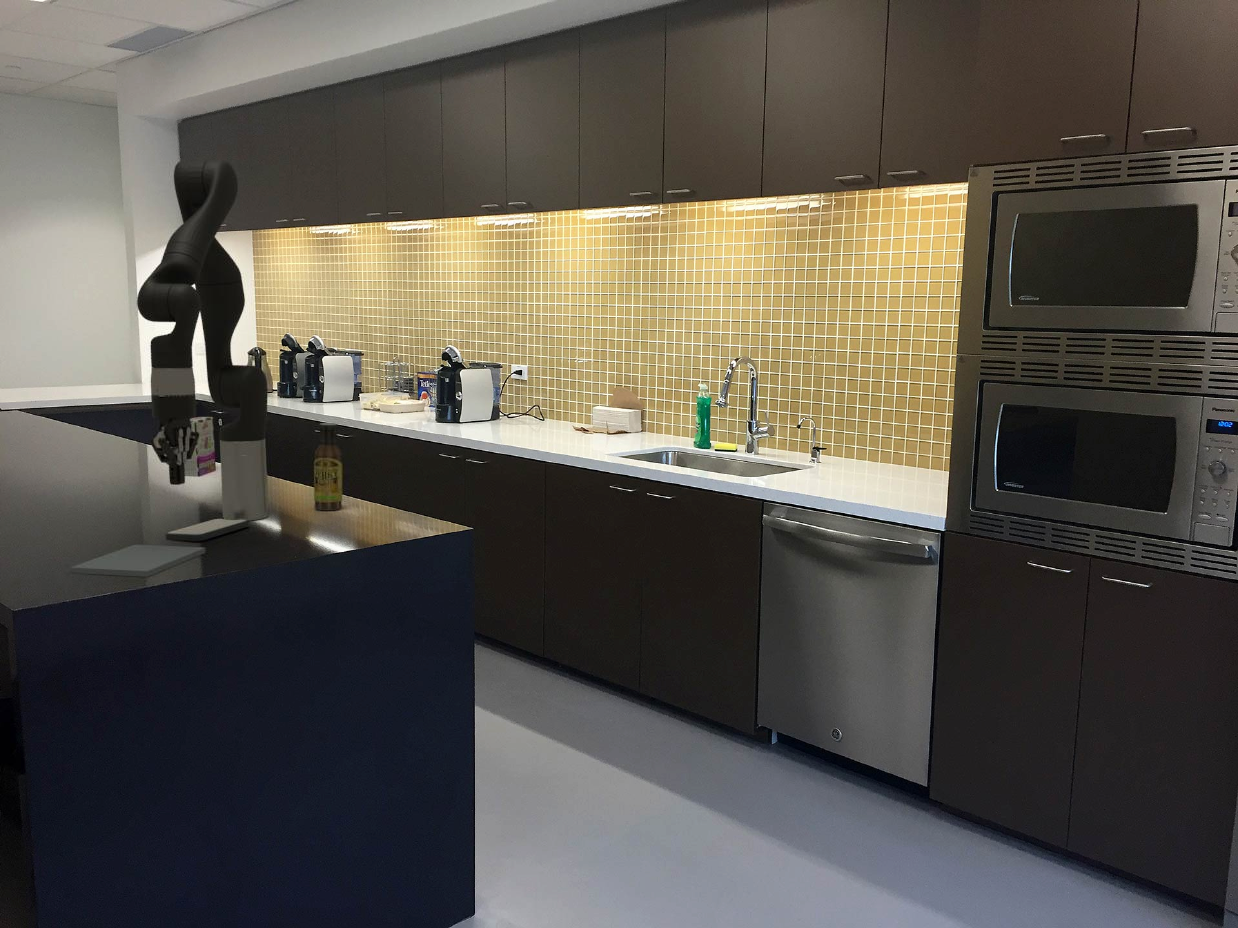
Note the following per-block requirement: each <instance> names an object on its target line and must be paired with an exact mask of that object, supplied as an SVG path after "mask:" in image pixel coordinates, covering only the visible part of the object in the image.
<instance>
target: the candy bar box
mask: <svg viewBox="0 0 1238 928" xmlns="http://www.w3.org/2000/svg"><path fill="white" fill-rule="evenodd" d="M190 422H191V425H192V428H191V429H192V430H193V432H199V438H198V441H197V444H196V447H195V450H194V452H193V455H192V458H191V459H188V460H187V462H186V464H184V466H185V477H193V478H196V477H197V478H198V477H203V476H205V475H209V474H211V473H213V472H215V471H216V470H217V465H216V463H217V462H216V450H215V434H214V433H215V432H214V416H213V417H212V416H198V417H197V416H195V417H193V418H190Z"/></svg>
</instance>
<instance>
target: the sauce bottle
mask: <svg viewBox="0 0 1238 928" xmlns="http://www.w3.org/2000/svg"><path fill="white" fill-rule="evenodd" d="M338 425H339V424H338V423H336V422H323V423H322V422H321V423H319V425H318V426H319V427H318V428H319V429H318V430H319V445H318V446H317V448H316V450H315V451H314V463H313V471H314V472H313V473H314V474H313V475H314V476H313V478H314V481H313V486H314V487H313V491H314V493H313V500H314V508H315V509H316V510H317V511H318V510H320V511H338V510H341V509H342V506H343V505H342V501H343V462H342V461H343V458H342V457H343V453H342V451H341V449H340V447H339V445H338V438H337V437H338V429H339V427H338Z"/></svg>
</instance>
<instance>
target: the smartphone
mask: <svg viewBox="0 0 1238 928" xmlns="http://www.w3.org/2000/svg"><path fill="white" fill-rule="evenodd" d="M249 526H250V520H240V519H223V518H215V519H211V520H208V521H207V520H206V521H203V522H200V523H196V524H193V525H189V526H187V527H182V528H178V529H176V530H172V531H168V532H166V533H165V540H167V541H178V542H179V541H180V542H181V541H183V542H184V541H185V542H202V541H206V540H208V539H213V538H215V537H219V536H221V535H225V534H229V533H232V532H235V531H239V530H241V529H245V528H247V527H248V528H249Z"/></svg>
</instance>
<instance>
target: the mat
mask: <svg viewBox="0 0 1238 928" xmlns="http://www.w3.org/2000/svg"><path fill="white" fill-rule="evenodd" d="M203 554H206V547H201V546H199V547H197V546H196V547H195V546H180V545H179V546H178V545H175V546H174V545H158V544H157V545H153V544H133V545H130V546H127V547H124V548H122V549H118V550H116V551H113V552H110V553H107V554H105V555H101V556H99V557H96V558H93V559H90V560H87V561H84V562H81V563H79V564H76V565H73V566H70V570H69V571H70V573H71V574H80V575H99V576H104V575H105V576H116V577H117V576H119V577H121V576H122V577H140V578H142V577H143V578H148V577H150V576H154V575H155V574H156V575H157V573H160V572H163V571H165V570H167V569H170V568H173V567H175V566H177V565H180V564H182V563H185V562H187V561H189V560H192V559H194V558H196V557H199V556H201V555H202V556H203Z"/></svg>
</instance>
